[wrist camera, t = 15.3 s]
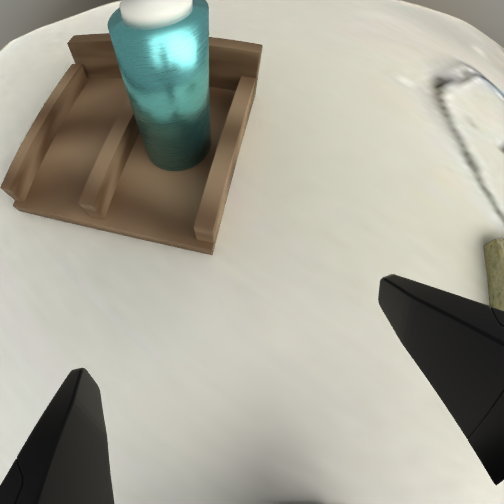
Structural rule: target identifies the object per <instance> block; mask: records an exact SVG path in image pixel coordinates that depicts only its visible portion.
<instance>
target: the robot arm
mask: <svg viewBox="0 0 504 504" xmlns="http://www.w3.org/2000/svg"><path fill="white" fill-rule="evenodd" d="M378 301H379V305H380V307H381V309H382V310H383V312H384V314H385V315H386V317H387V319H388V320H389V322H390V324H391V326H392V327H393V329H394V331H395V332H396V334H397V336H398V338H399V339H400V341H401V343H402V344H403V345H404V347H405V348H406V350H407V351H408V353H409V354H410V355H411V357H412V358H413V359H414V361H415V362H416V364H417V365H418V366H419V368H420V369H421V371H422V372H423V374H424V375H425V376H426V378H427V379H428V381H429V382H430V384H431V385H432V387H433V388H434V389H435V391H436V392H437V394H438V395H439V397H440V398H441V400H442V401H443V403H444V404H445V406H446V407H447V409H448V410H449V412H450V413H451V415H452V416H453V418H454V419H455V421H456V422H457V424H458V425H459V427H460V428H461V430H462V432H463V433H464V435H465V436H466V438H467V439H468V441H469V443H470V444H471V446H472V448H473V449H474V451H475V452H476V454H477V456H478V457H479V459H480V461H481V462H482V464H483V466H484V467H485V469H486V471H487V472H488V474H489V476H490V477H491V479H492V481H493V482H494V484H495V485H497V484H499V483H500V482H501V481H503V480H504V311H502V310H499V309H496V308H494V307H490V306H488V305H485V304H482V303H479V302H476V301H473V300H470V299H467V298H464V297H461V296H458V295H455V294H452V293H449V292H446V291H443V290H440V289H437V288H434V287H431V286H428V285H425V284H422V283H419V282H416V281H413V280H410V279H407V278H404V277H400V276H397V275H394V274H391V275H388V276H386V277H383V278H382V279H381V280H380V287H379V297H378ZM0 504H114V498H113V490H112V483H111V474H110V464H109V454H108V442H107V433H106V427H105V421H104V415H103V409H102V402H101V394H100V390H99V387H98V385H97V384H96V382H95V381H94V380H93V378H92V377H91V375H90V374H89V373H88V371H87V370H86V369H85V368H79V369H74V370H72V371H71V372H70V373H69V375H68V376H67V378H66V379H65V381H64V382H63V384H62V385H61V387H60V388H59V390H58V391H57V393H56V394H55V396H54V397H53V399H52V400H51V402H50V403H49V405H48V407H47V408H46V410H45V411H44V413H43V414H42V416H41V418H40V419H39V421H38V423H37V424H36V426H35V427H34V429H33V431H32V432H31V434H30V436H29V437H28V439H27V441H26V442H25V444H24V446H23V447H22V449H21V451H20V453H19V454H18V456H17V459H15V461H14V463H13V465H12V466H11V468H10V470H9V472H8V473H7V475H6V477H5V478H4V480H3V482H2V483H1V485H0Z"/></svg>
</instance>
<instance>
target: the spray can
mask: <svg viewBox="0 0 504 504" xmlns="http://www.w3.org/2000/svg"><path fill="white" fill-rule="evenodd" d="M108 29H109V33H110V37H111V40H112V44H113V47H114V51H115V54H116V58H117V61H118V65H119V68H120V71H121V75H122V78H123V81H124V85H125V88H126V91H127V94H128V97H129V101H130V104H131V107H132V110H133V113H134V116H135V119H136V122H137V125H138V128H139V131H140V134H141V137H142V140H143V143H144V146H145V149H146V152H147V155H148V157H149V159H150V161H151V162H152V163H153V164H154V165H155V166H157V167H159V168H161V169H163V170H167V171H183V170H187V169H190V168H192V167H194V166H196V165H197V164H199V163H200V162H201V161H202V160H203V159H204V158H205V157H206V156H207V154H208V152H209V150H210V147H211V127H210V93H209V7H208V3H207V2H206V0H122V1H121V2H120V8H119V9H117V10H116V11H115V12H114V13H113V14H112V16H111V17H110V19H109V21H108Z"/></svg>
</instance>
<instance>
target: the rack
mask: <svg viewBox="0 0 504 504" xmlns="http://www.w3.org/2000/svg"><path fill="white" fill-rule="evenodd" d="M67 44H68V46H69V49H70V51H71V54H72V56H73V59H74V61H75V63H76V64H72V65H71V66H70V68H69V69H68V70H67V72H66V73H65V75H64V76H63V77H62V79H61V80H60V82H59V83H58V85H57V86H56V88H55V89H54V90H53V92H52V93H51V95H50V97H49V98H48V100H47V101H46V103H45V104H44V106H43V108H42V109H41V111H40V112H39V114H38V116H37V117H36V119H35V121H34V122H33V124H32V126H31V128H30V129H29V131H28V133H27V135H26V137H25V138H24V140H23V142H22V144H21V146H20V148H19V150H18V152H17V154H16V156H15V157H14V159H13V162H12V164H11V166H10V168H9V170H8V172H7V174H6V176H5V178H4V181H3V183H2V185H1V187H0V188H1V189H2V190H4V191H5V192H6V193H7V194H8V195H9V196H11V197H12V198H13V199H14V200H15V202H14V204H13V206H14V207H15V208H17V209H18V210H19V211H22V212H26V213H30V214H35V215H39V216H43V217H47V218H52V219H56V220H60V221H64V222H69V223H73V224H77V225H81V226H86V227H90V228H94V229H99V230H103V231H108V232H112V233H116V234H121V235H125V236H129V237H134V238H138V239H143V240H147V241H152V242H156V243H160V244H165V245H169V246H174V247H178V248H183V249H187V250H192V251H196V252H201V253H205V254H210V255H213V251H214V247H215V243H216V238H217V234H218V230H219V226H220V222H221V219H222V215H223V211H224V207H225V203H226V199H227V195H228V191H229V188H230V184H231V180H232V176H233V172H234V169H235V165H236V161H237V158H238V154H239V150H240V147H241V143H242V139H243V136H244V132H245V129H246V125H247V122H248V118H249V114H250V111H251V108H252V104H253V101H254V97H255V93H256V86H257V79H258V72H259V66H260V59H261V52H262V45H260V44H254V43H248V42H242V41H235V40H228V39H221V38H212V37H209V93H210V127H211V147H210V150H209V152H208V154H207V156H206V157H205V158H204V159H203V160H202V161H201V162H200V163H199V164H197V165H196V166H194V167H192V168H190V169H187V170H183V171H167V170H163V169H161V168H159V167H157V166H155V165H154V164H153V163H152V162H151V161H150V159H149V157H148V155H147V152H146V149H145V146H144V143H143V140H142V137H141V134H140V131H139V128H138V125H137V122H136V119H135V116H134V113H133V110H132V107H131V104H130V101H129V97H128V94H127V91H126V88H125V85H124V81H123V78H122V75H121V71H120V68H119V65H118V61H117V58H116V54H115V51H114V47H113V44H112V40H111V37H110V33H107V34H89V35H76V36H73V37H72V38H71V40H70V41H69V42H68V43H67Z"/></svg>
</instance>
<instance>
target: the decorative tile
mask: <svg viewBox="0 0 504 504" xmlns="http://www.w3.org/2000/svg"><path fill="white" fill-rule="evenodd" d="M484 253H485V261H486V269H487V276H488V286H489V298H490V307H494V308H496V309H499V310H502V311H504V239H495V240H493V241H491V242H489V243H487V244H486V245H485V246H484Z"/></svg>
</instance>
